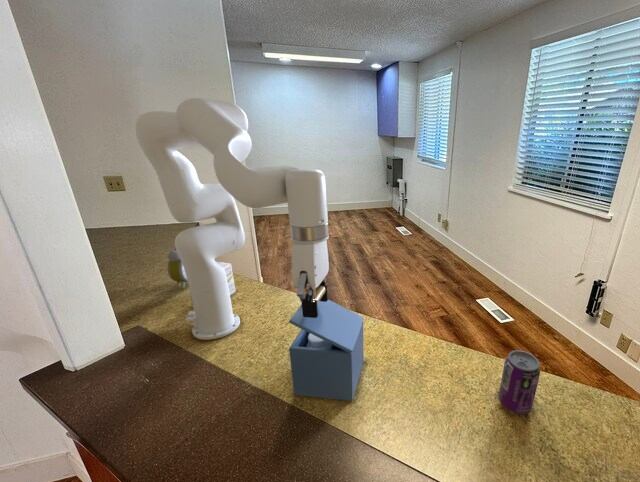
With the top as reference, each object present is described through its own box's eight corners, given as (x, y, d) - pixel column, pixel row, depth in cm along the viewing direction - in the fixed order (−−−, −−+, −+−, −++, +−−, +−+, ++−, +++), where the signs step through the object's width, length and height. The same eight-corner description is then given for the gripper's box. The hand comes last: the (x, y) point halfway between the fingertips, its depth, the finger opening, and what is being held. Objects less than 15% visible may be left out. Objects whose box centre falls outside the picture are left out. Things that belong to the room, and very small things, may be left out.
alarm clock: (185, 290, 113) (176, 253, 108) (167, 290, 113) (157, 252, 108) (204, 277, 124) (197, 242, 119) (187, 276, 124) (179, 242, 119)
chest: (293, 394, 69) (288, 348, 65) (313, 357, 81) (310, 315, 76) (352, 401, 68) (351, 354, 63) (363, 362, 79) (363, 320, 75)
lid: (288, 322, 62) (297, 302, 61) (310, 293, 74) (319, 275, 72) (350, 353, 63) (362, 334, 61) (362, 319, 75) (372, 302, 73)
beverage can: (528, 422, 64) (539, 376, 60) (494, 406, 67) (502, 362, 63) (533, 399, 69) (544, 356, 65) (502, 386, 73) (509, 344, 69)
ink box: (219, 303, 105) (214, 272, 101) (198, 300, 107) (192, 269, 103) (236, 291, 113) (231, 262, 109) (216, 289, 115) (211, 260, 111)
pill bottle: (325, 386, 71) (323, 346, 67) (302, 379, 72) (298, 341, 68) (337, 368, 76) (336, 330, 72) (316, 362, 78) (313, 325, 74)
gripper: (307, 220, 71) (313, 289, 77) (272, 244, 54) (283, 329, 60) (339, 221, 70) (342, 291, 76) (312, 246, 54) (319, 332, 60)
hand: (316, 307), depth 68 cm, fingers closed on lid, 6 cm apart
